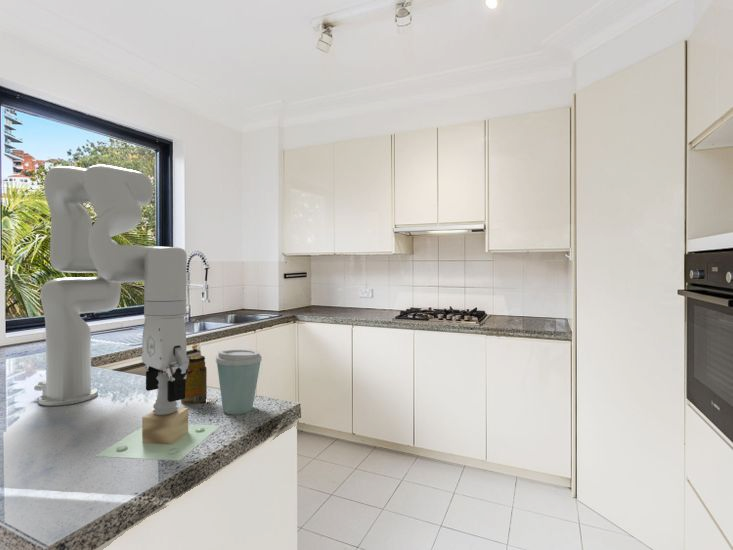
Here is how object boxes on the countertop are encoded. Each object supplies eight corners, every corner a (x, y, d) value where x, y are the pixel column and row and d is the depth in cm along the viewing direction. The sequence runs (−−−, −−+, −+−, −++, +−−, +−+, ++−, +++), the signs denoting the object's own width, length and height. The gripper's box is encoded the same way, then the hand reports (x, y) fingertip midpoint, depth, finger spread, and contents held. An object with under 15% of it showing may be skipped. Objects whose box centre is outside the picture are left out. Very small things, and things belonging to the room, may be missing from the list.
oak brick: (142, 443, 79) (142, 417, 79) (160, 430, 85) (160, 406, 85) (171, 444, 78) (171, 418, 78) (188, 431, 84) (188, 407, 84)
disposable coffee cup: (235, 403, 105) (235, 344, 104) (270, 408, 101) (271, 348, 101) (204, 417, 95) (205, 352, 95) (242, 424, 91) (243, 356, 91)
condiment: (184, 399, 107) (184, 354, 107) (218, 399, 108) (218, 353, 108) (174, 409, 100) (174, 360, 100) (210, 408, 101) (210, 360, 101)
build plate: (94, 460, 73) (94, 454, 73) (149, 425, 89) (149, 420, 89) (179, 465, 72) (179, 458, 72) (220, 429, 88) (220, 424, 88)
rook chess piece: (154, 409, 83) (154, 370, 83) (178, 407, 85) (178, 368, 84) (151, 417, 79) (151, 376, 79) (176, 414, 80) (176, 374, 80)
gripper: (128, 306, 84) (127, 389, 84) (165, 314, 73) (165, 410, 73) (165, 304, 90) (164, 381, 90) (205, 311, 79) (204, 399, 79)
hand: (165, 394), depth 82 cm, fingers open, 9 cm apart
